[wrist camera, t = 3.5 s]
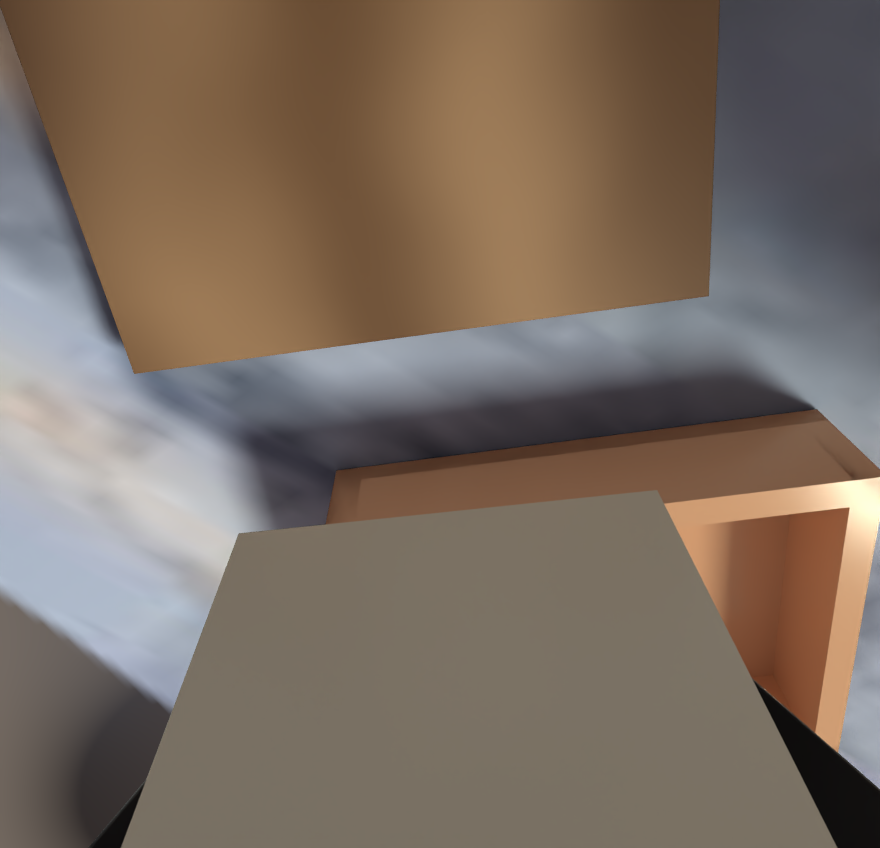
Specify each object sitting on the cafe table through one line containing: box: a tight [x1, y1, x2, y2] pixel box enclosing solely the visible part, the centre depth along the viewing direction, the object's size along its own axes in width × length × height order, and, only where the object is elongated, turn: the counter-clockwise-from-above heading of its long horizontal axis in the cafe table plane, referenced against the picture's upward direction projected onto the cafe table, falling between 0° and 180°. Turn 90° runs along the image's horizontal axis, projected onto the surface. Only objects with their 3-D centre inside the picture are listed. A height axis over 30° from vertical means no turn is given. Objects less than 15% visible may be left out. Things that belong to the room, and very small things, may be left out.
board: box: [0, 0, 720, 374], centre depth 14 cm, size 13×13×1 cm
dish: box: [326, 409, 880, 752], centre depth 20 cm, size 12×9×3 cm
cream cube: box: [121, 490, 837, 848], centre depth 6 cm, size 4×4×4 cm
